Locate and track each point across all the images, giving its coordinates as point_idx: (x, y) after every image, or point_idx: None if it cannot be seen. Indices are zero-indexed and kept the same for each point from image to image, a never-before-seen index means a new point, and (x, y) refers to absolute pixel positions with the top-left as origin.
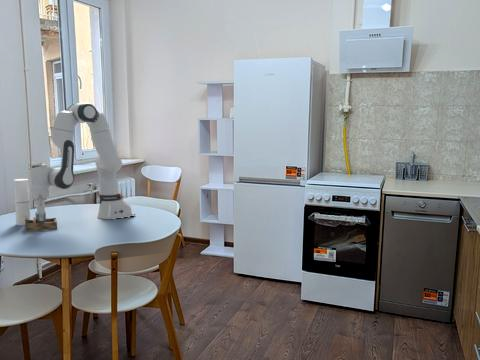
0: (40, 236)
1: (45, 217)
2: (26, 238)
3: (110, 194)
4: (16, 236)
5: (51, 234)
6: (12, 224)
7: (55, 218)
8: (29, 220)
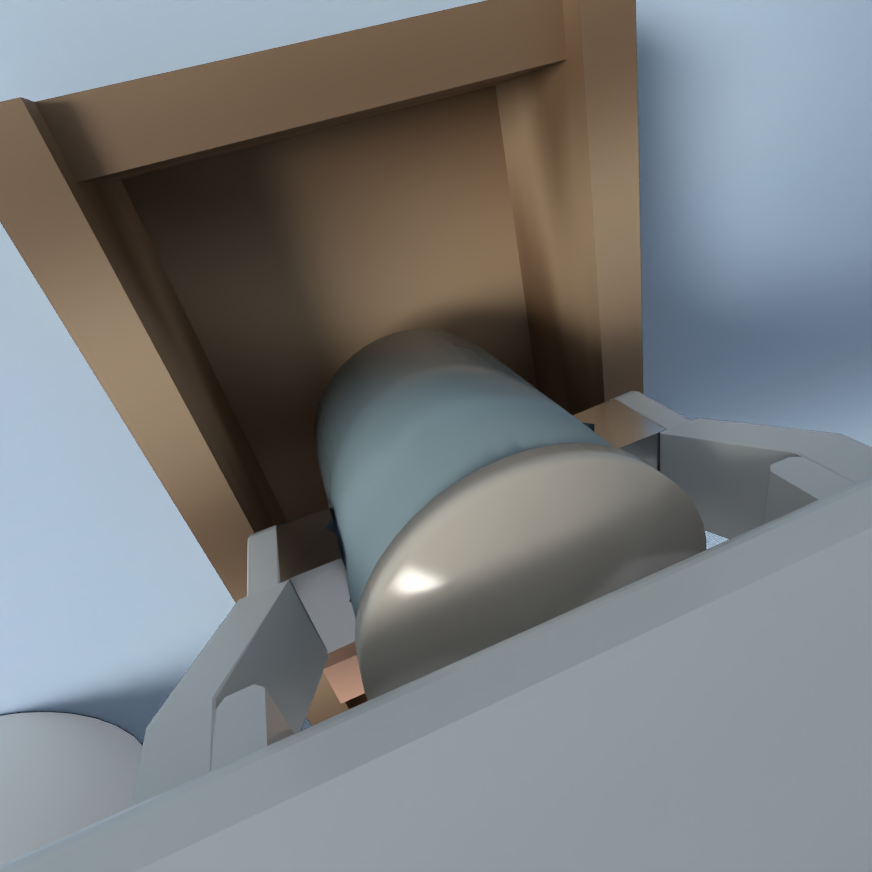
0: (853, 257)
1: (516, 393)
2: (848, 404)
3: None
4: (724, 538)
5: (835, 94)
6: None
7: (41, 122)
8: None
